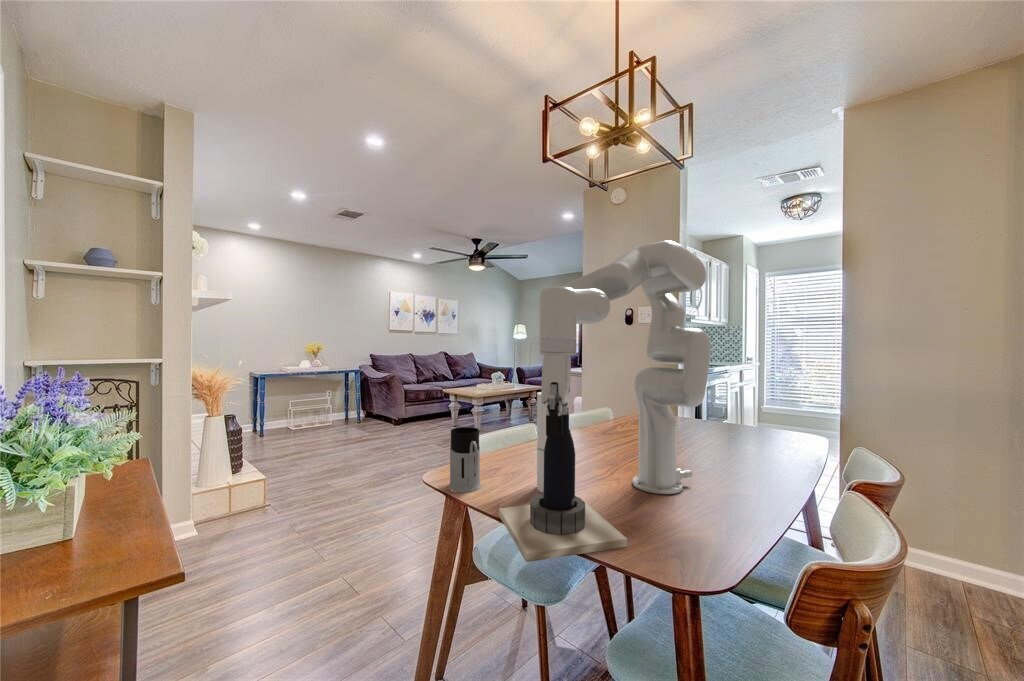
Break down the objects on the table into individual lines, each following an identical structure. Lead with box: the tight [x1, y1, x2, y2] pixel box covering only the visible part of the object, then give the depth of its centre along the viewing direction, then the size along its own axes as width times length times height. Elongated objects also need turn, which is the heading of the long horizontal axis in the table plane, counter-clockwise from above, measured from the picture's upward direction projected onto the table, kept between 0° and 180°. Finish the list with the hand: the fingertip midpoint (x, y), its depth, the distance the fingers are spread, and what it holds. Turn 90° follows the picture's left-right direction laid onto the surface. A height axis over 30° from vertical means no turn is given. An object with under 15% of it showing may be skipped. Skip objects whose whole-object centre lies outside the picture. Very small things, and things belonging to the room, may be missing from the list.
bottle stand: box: [498, 493, 628, 563], centre depth 84 cm, size 20×20×6 cm
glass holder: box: [448, 426, 482, 494], centre depth 106 cm, size 9×14×15 cm, turn 23°
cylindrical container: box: [536, 391, 548, 494], centre depth 107 cm, size 7×7×25 cm
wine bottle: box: [543, 385, 576, 511], centre depth 84 cm, size 6×6×30 cm
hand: (557, 430), depth 84 cm, fingers open, 9 cm apart
